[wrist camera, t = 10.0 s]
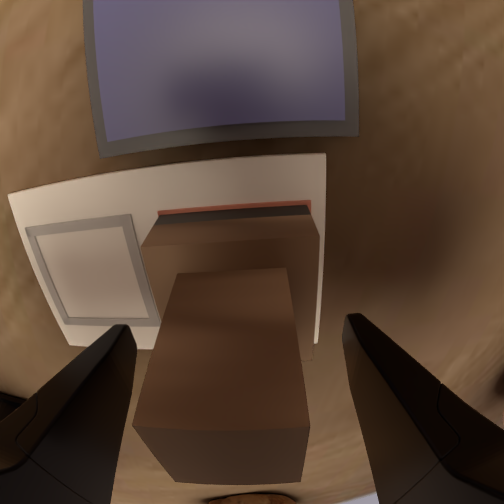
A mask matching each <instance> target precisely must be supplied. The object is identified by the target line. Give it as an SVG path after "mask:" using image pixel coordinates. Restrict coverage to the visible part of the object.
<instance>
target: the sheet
mask: <svg viewBox="0 0 504 504" xmlns="http://www.w3.org/2000/svg"><path fill="white" fill-rule="evenodd" d="M8 198H9V202H10V205H11V208H12V212H13V215H14V218H15V221H16V224H17V227H18V230H19V233H20V236H21V239H22V241H23V244H24V247H25V250H26V252H27V255H28V257H29V260H30V263H31V265H32V268H33V270H34V272H35V275H36V277H37V280H38V282H39V284H40V286H41V289H42V291H43V293H44V295H45V298H46V300H47V302H48V304H49V306H50V308H51V310H52V312H53V314H54V316H55V318H56V320H57V322H58V324H59V326H60V328H61V330H62V332H63V334H64V336H65V338H66V340H67V341H68V343H69V345H73V346H87V347H89V346H90V345H91V344H92V343H93V342H94V341H96V340H97V339H98V338H99V337H100V336H101V335H103V334H104V333H105V332H106V331H107V330H109V329H110V328H111V327H112V326H113V325H115V324H127V325H129V327H130V329H131V331H132V334H133V336H134V339H135V341H136V344H137V349H153V348H154V345H155V341H156V338H157V335H158V332H159V328H160V325H161V319H160V316H159V313H158V310H157V306H156V303H155V300H154V296H153V293H152V289H151V286H150V282H149V279H148V275H147V271H146V268H145V264H144V260H143V257H142V253H141V249H140V247H141V245H142V243H143V242H144V240H145V238H146V237H147V235H148V233H149V232H150V230H151V228H152V227H153V225H154V223H155V222H156V220H157V219H158V217H159V215H166V214H177V213H188V212H201V211H213V210H227V209H241V208H257V207H273V206H291V205H307V206H308V208H309V211H310V213H311V215H312V218H313V220H314V223H315V225H316V227H317V230H318V232H319V235H320V250H319V272H318V291H317V307H316V321H315V335H314V344H315V343H318V334H319V322H320V309H321V296H322V280H323V262H324V241H325V210H326V153H296V154H274V155H257V156H242V157H229V158H218V159H207V160H197V161H188V162H179V163H171V164H163V165H155V166H148V167H141V168H134V169H127V170H121V171H115V172H109V173H103V174H97V175H92V176H86V177H81V178H76V179H70V180H66V181H61V182H56V183H51V184H47V185H42V186H38V187H33V188H29V189H25V190H21V191H17V192H13V193H10V194H8Z"/></svg>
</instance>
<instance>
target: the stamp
mask: <svg viewBox="0 0 504 504" xmlns="http://www.w3.org/2000/svg"><path fill="white" fill-rule="evenodd" d="M140 249H141V253H142V257H143V260H144V264H145V268H146V271H147V275H148V279H149V282H150V286H151V289H152V293H153V296H154V300H155V303H156V306H157V310H158V313H159V316H160V319H161V325H160V328H159V332H158V335H157V338H156V341H155V345H154V348H153V351H152V355H151V358H150V361H149V365H148V368H147V372H146V375H145V379H144V382H143V386H142V390H141V393H140V397H139V400H138V404H137V408H136V412H135V416H134V419H133V423H132V426H133V427H134V429H135V430H136V432H137V433H138V434H139V436H140V437H141V439H142V440H143V441H144V443H145V444H146V445H147V447H148V448H149V449H150V451H151V452H152V453H153V455H154V456H155V457H156V459H157V460H158V461H159V462H160V464H161V465H162V466H163V467H164V469H165V470H166V471H167V472H168V474H169V475H170V476H171V477H172V478H173V480H174V481H175V482H182V483H196V484H216V485H260V484H281V483H294V482H301V477H302V472H303V466H304V461H305V455H306V449H307V443H308V437H309V431H310V421H309V413H308V406H307V399H306V391H305V384H304V377H303V371H302V364H301V361H309V360H312V358H313V347H314V335H315V321H316V307H317V291H318V272H319V250H320V235H319V232H318V230H317V227H316V225H315V223H314V220H313V218H312V215H311V213H310V211H309V208H308V206H307V205H291V206H273V207H257V208H241V209H227V210H213V211H201V212H188V213H177V214H166V215H159V217H158V219H157V220H156V222H155V223H154V225H153V227H152V228H151V230H150V232H149V233H148V235H147V237H146V238H145V240H144V242H143V243H142V245H141V247H140Z"/></svg>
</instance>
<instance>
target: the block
mask: <svg viewBox="0 0 504 504" xmlns="http://www.w3.org/2000/svg"><path fill="white" fill-rule="evenodd" d="M208 504H296V502H294V501H293V500H292V499H290V498H288V497H286V496H283V495H275V494H244V495H237V496H230V497H227V498H226V499H217V500H213V501H210V502H209V503H208Z"/></svg>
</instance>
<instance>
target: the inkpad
mask: <svg viewBox="0 0 504 504" xmlns="http://www.w3.org/2000/svg"><path fill="white" fill-rule="evenodd" d="M83 24H84V42H85V55H86V66H87V76H88V85H89V93H90V101H91V108H92V115H93V122H94V128H95V134H96V140H97V145H98V151H99V156H100V159H101V158H107V157H112V156H118V155H123V154H129V153H135V152H141V151H148V150H155V149H162V148H169V147H177V146H185V145H193V144H203V143H212V142H223V141H235V140H248V139H264V138H284V137H320V136H353V137H359V84H358V59H357V42H356V28H355V16H354V6H353V0H83Z"/></svg>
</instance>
